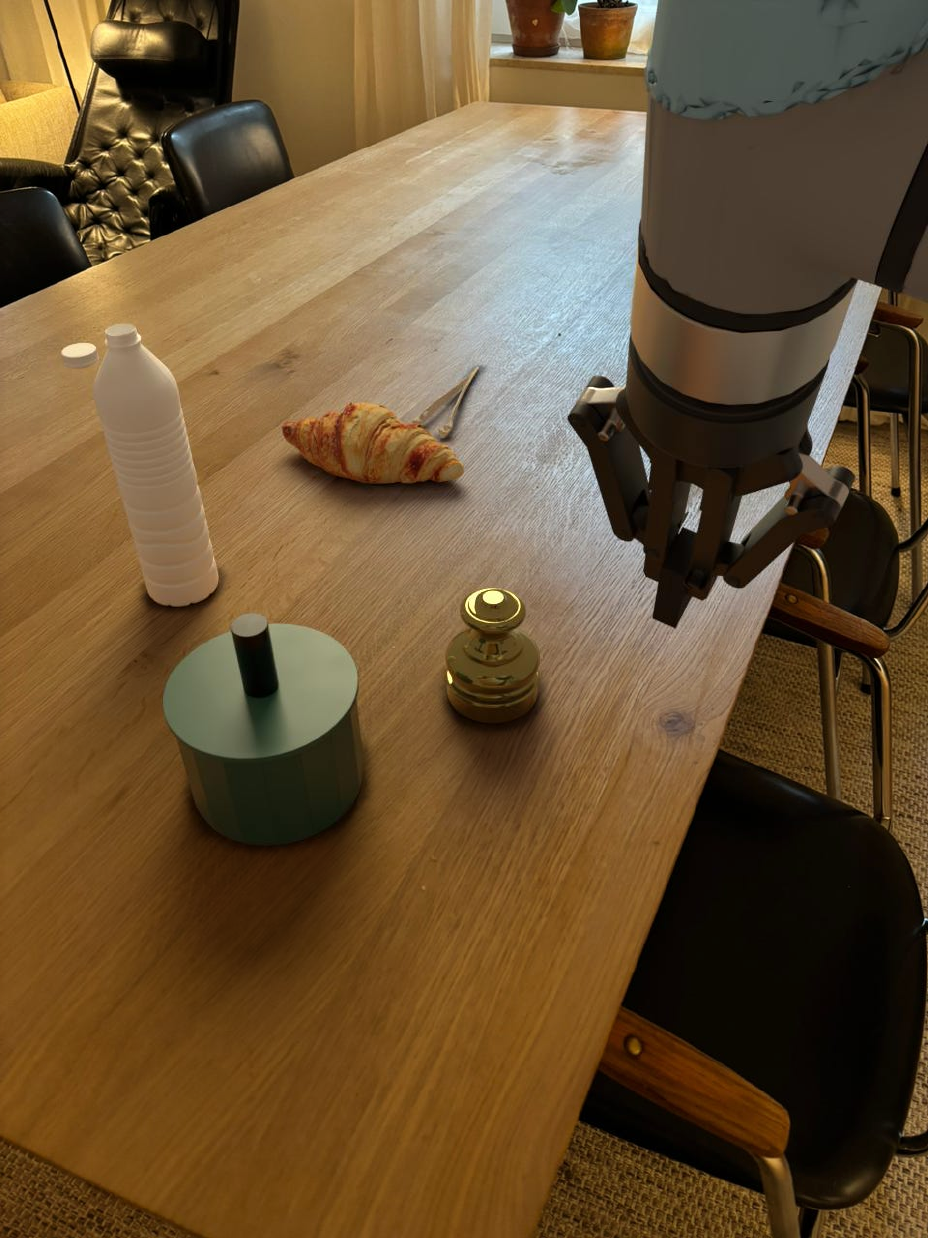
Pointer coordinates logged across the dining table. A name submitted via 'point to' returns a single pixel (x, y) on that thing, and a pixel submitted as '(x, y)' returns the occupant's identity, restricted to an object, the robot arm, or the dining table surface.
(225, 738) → the pot lid
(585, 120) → the dining table surface
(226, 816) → the pot
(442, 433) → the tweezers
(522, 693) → the brass calibration weight
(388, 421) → the croissant
